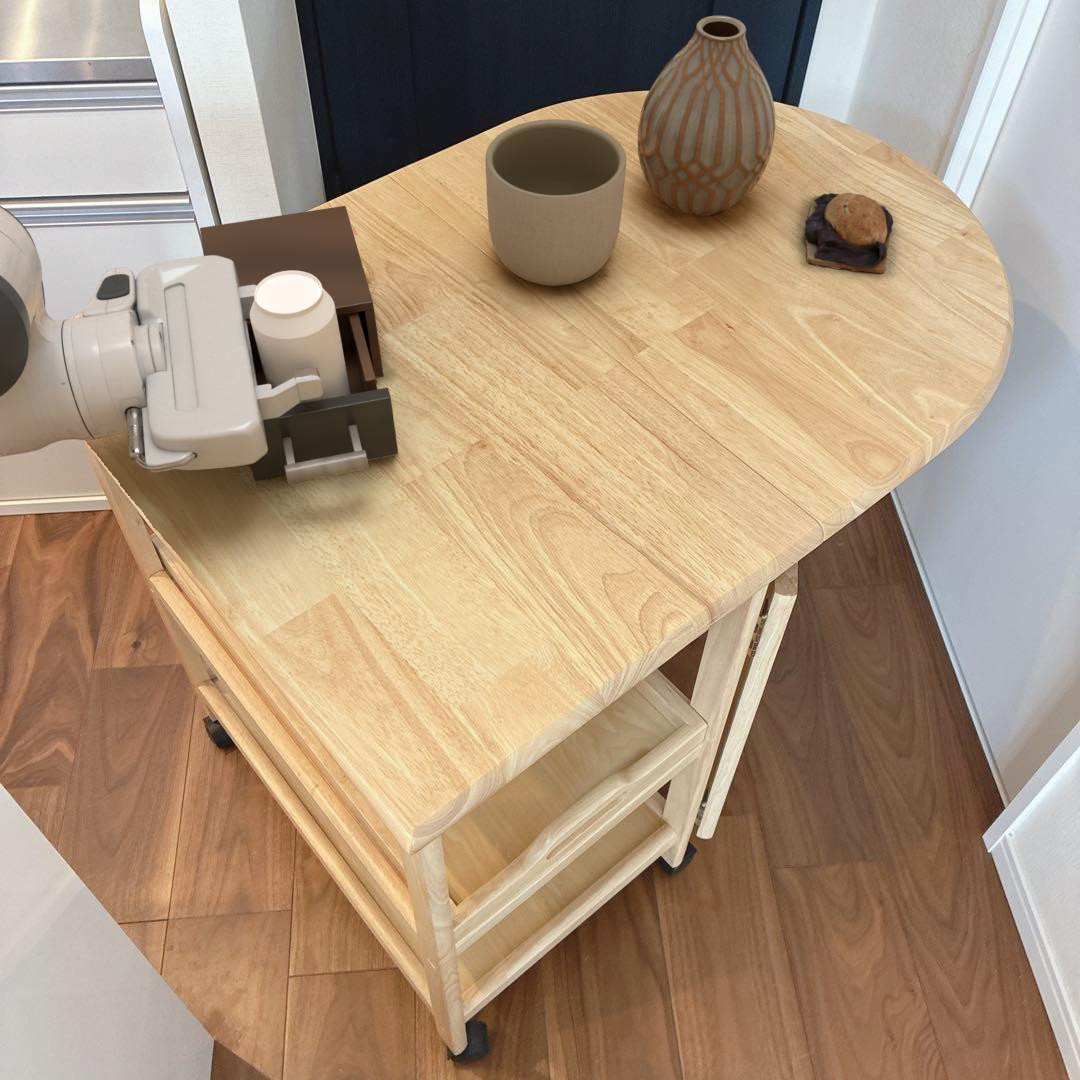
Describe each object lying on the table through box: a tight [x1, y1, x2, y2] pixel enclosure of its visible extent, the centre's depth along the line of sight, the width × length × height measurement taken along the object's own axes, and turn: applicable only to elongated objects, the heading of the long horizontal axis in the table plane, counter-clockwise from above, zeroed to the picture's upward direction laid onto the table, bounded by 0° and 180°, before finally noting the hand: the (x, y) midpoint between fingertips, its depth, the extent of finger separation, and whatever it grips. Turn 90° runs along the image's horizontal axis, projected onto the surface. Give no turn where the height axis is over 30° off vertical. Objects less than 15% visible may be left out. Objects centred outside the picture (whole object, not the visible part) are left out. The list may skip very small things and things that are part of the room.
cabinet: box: [199, 205, 384, 378], centre depth 91 cm, size 14×13×8 cm
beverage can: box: [250, 270, 350, 404], centre depth 81 cm, size 6×6×12 cm
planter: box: [484, 118, 627, 287], centre depth 97 cm, size 12×12×11 cm
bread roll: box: [804, 192, 894, 274], centre depth 103 cm, size 11×8×4 cm
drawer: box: [248, 312, 399, 485], centre depth 83 cm, size 17×11×6 cm
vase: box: [636, 15, 776, 217], centre depth 101 cm, size 13×13×18 cm
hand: (312, 340), depth 80 cm, fingers open, 8 cm apart
